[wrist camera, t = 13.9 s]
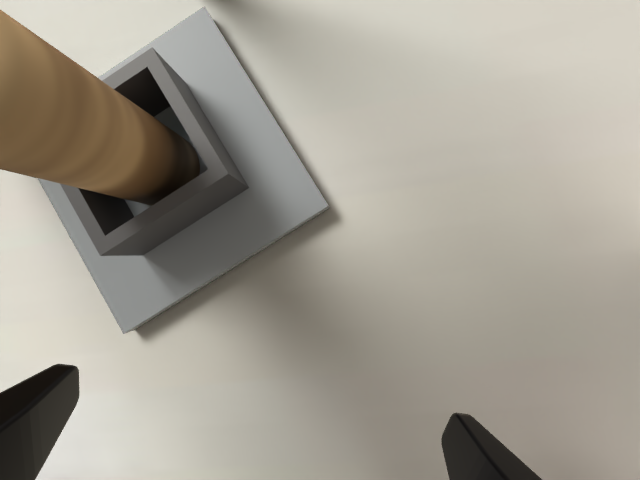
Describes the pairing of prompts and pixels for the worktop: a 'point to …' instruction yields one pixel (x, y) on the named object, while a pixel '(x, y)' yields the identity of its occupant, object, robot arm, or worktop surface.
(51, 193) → the awning socket
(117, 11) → the worktop surface
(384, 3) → the worktop surface
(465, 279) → the worktop surface
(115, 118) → the tan domed cylinder
